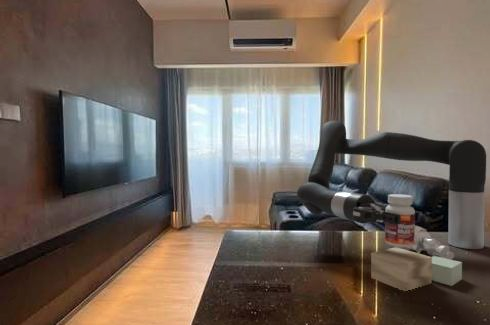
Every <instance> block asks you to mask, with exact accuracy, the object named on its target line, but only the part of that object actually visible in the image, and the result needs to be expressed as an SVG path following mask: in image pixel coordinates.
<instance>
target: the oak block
mask: <svg viewBox="0 0 490 325" xmlns="http://www.w3.org/2000/svg"><path fill="white" fill-rule="evenodd" d="M370 254H371V255H370V256H371V258H370V260H371V263H370V264H371V266H370V273H371V274H370V276H371V279H373V280H375V279H376V280H375V281H378V282H381V283H382V284H386V285H388V286H391V287H392V288H395V289H397V288H398V290H399V291H402V290H403V291H402V292H405V291H408V290H411V291H413V290H412V289H414V290H416V289H415V288H417V289H419V288H418V287H420V288H422V286H423V287H425V285H426V286H427V285H428V284H429V285H432V284H431V283H432V281H433V280H432V257H433V256H430V255H429V256H428V255H425V254H421V253H420V254H419V253H417V252H416V251H413V250H408V249H404V248H402V247H395V246H394V247H392V248H387V249H382V250H378V251H373V252H371V253H370ZM408 292H409V291H408Z"/></svg>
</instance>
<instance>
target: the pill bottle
mask: <svg viewBox="0 0 490 325" xmlns="http://www.w3.org/2000/svg"><path fill="white" fill-rule="evenodd" d="M413 198H414V197H413V195H410V194H401V193H397V194H396V193H393V194H391V193H390V194H388V195H387V203H388V204H390V205H388V206H387V207H386V209H385V212H390V213H395V214H399V215H400V216H401V223H400V224H397V225H396V224H392V223H388V222H384V241H385V243H386V244H387V245H389V246H391V247H394V248H395V247H398V248H408V247H412V246H413V245H414V230H415V226H416V225H415V223H416V221H415V211H416V210H415V209H414V207H412V205H413V203H414V202H413V201H414V200H413Z"/></svg>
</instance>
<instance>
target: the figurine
mask: <svg viewBox="0 0 490 325" xmlns="http://www.w3.org/2000/svg"><path fill="white" fill-rule="evenodd" d="M407 248H408V249H409V250H411V251H413V252H415V253H419V254H421V252H422V251H426V253H427V255H429V256H430V257H433V256H437V257H441V258H446V259H450V260H454V258H455V253H454V252H453V251H450V247H449V246H448V245H445V244H442V243H441V242H440V241H439V240H438V239H436V238H432V236H431V234H430V233H429V232H428V230H427V229H426V228H423V227H421V226H418V225H415V230H414V245H413V246H412V247H407Z"/></svg>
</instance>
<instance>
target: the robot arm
mask: <svg viewBox="0 0 490 325" xmlns="http://www.w3.org/2000/svg"><path fill="white" fill-rule="evenodd" d="M319 139H320V140H319V144H318V148H317V150H316V155H315V159H314V161H313V164H312V166H311V169H310V172H309V173H308V174H309V175H308V178H307V182H305V183H303V184H301V185H300V186H299V187H298V189H297V191H296V195H297V196H296V197H297V199H298V201H300V203H301V204H302V205H303V206H304V207H305V209H306V210H307V211H308V212H309V213H310V214H312V215H316V216H317V215H320V214H323V213H326V214H327V215H330V216H335V217H338V218H340V219H343V220H348V221H351V222H356V223H359V224H367V223H370V222H371V223H373V224H375V223H378V222H379V223H385V222H388V223H392V224H396V225H397V224H400V223H401V216H400V215H399V214H395V213H390V212H385V209H386V207H387V206H388V205H390V203H388V204H387V203H383V202H375V200H374V198H373V197H372V196H371V195H368V194H365V193H359V192H358V193H357V192H351V191H339V190H333V189H330V181H331V178H332V175H333V172H334V167H335V158H336V155H337V154H338V155H353V156H354V155H355V156H356V155H358V156H365V157H367V156H368V157H376V158H382V159H383V158H384V159H388V160H395V161H406V162H407V161H409V162H432V163H439V164H443V165H448V166H449V174H448V175H449V178H448V227H447V228H448V232H447V233H448V234H447V236H448V238H447V239H448V241H447V242H448V244H449V245H451V246H453V247H456V248H461V249H469V250H482V249H483V248H485V247H484V246H485V185H486V180H487V179H486V178H487V151H486V149H485V147H484V145H482V144H481V143H480V142H478V141H477V140H474V139H463V140H436V139H430V138H426V137H422V136H418V135H412V134H409V133H408V134H407V133H401V132H391V131H386V132H385V131H384V132H381V133H378V134H375V135H374V134H373V136H369V137H367V138H363V139H350V138H347V129H346V126H345V125H344V123H343V122H341V121H338V120H331V121H327V122H326V123H324V124H323V125H322V126H321V128H320V138H319ZM420 220H421V212H419V211H417V210H415V222H420Z"/></svg>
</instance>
